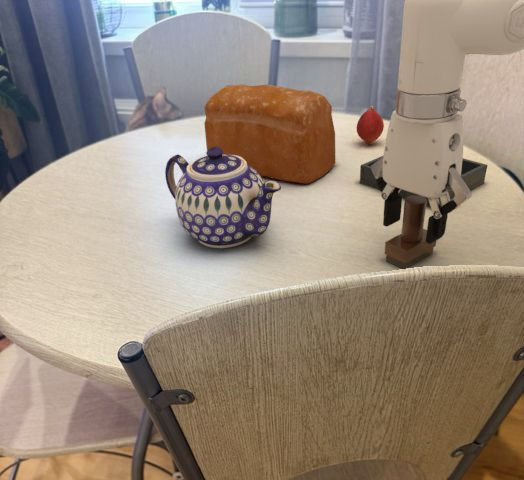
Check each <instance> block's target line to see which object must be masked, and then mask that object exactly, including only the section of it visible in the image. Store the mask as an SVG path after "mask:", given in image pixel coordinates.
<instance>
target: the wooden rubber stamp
mask: <svg viewBox="0 0 524 480" xmlns="http://www.w3.org/2000/svg"><path fill="white" fill-rule="evenodd" d="M426 203H427V199H426V198H425V197H423V196H417V195H414V196H409V197H407V198H404V205H403V216H402V225H401V233H399V234H398V235H396V236H394V237H392V238H390V239H388V240H386V241H385V243H384V255H386V256H385V262H388V263H390V264H392V265H394V266H396V267H399V268H401V269H403V270H406V269H408V268H409V267H411V266H413V265H415V264H416V263H418V262H419V261H422V260H424V259H425V258H426V257H429V256H430V255H432V254H433V252H434V248H435V247H436V246H437V240H436V241H435V242H433V243H431V244H429V243H427V242H426V234H427V229H425V228H424V225H425V218H426V210H427V206H426ZM405 268H406V269H405Z"/></svg>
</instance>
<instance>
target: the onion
mask: <svg viewBox="0 0 524 480" xmlns="http://www.w3.org/2000/svg"><path fill="white" fill-rule="evenodd" d="M384 128H385V123H384V119H383V117H382V116H381V114H379V112H377V111H376V110H375V106H373V105H371V106H370V107H369V108H368V109H367V110H366V111H365V112H363V113H362V114H361V115H360V117H359V119H358V121H357V123H356V133H357V136H358V137H359V138H360V139H361V140H362V141H363V142H365V143H366V144H367V145H372V144H373V143H374V142H375V141H376V140H378V139H379V138H380V137H381V136H382V133H383V131H384Z"/></svg>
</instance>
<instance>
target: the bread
mask: <svg viewBox="0 0 524 480" xmlns="http://www.w3.org/2000/svg"><path fill="white" fill-rule="evenodd" d="M332 111H333V106H332V105H331V104H330V102H329V101H328V99H327V98H326V96H325V95H323V94H321V93H319V92H315V91H311V90H299V89H294V88H288V87H285V86H278V85H272V84H259V85H249V84H242V83H241V84H240V83H238V84H231V85H230V84H229V85H226V86H224V87H222V88H220V90H218V91H217V92H215V93H214V94H213V95H211V96H210V97H209V98H208V100H207V102H206V103H205V105H204V114H205V120H204V132H205V133H204V135H205V143H206V145H205V146H206V152H207V151H208V149H210V148H212V147H220V148H221V149H222V150H223V154H227V155H236V156H240V157H242V158H243V159H244V160H245V161H246V162H247V165H248V166H250V167H251V168H253V169H254V170H256V172H257V173H258V174H259V175H260V176H261V177H266V178H269V179H274V180H279V181H282V182H283V181H284V182H291V183H299V184H310V183H313V182H314V181H316V180H318V179H320V178H322V177H323V176H324V175H326V174H327V173H328V172H329V171H330V170H331V169H332V168H333V167H334V166H335V164H336V129H335V124H334V121H333V115H332V114H333V112H332Z"/></svg>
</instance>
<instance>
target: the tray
mask: <svg viewBox="0 0 524 480" xmlns="http://www.w3.org/2000/svg"><path fill="white" fill-rule="evenodd" d="M382 157H384V154H383V155H381V156H379V157H376V158H374V159H371V160H369V161H367V162H365V163H363V164H360V168H359V169H360V170H359V171H360V172H359V183H360V184H363V185H366V186H368V187H371V188H373V189H376V190H380V188H379V187H378V185H377V183H376V180H377V179H376V178H375V176H374V174H373V172H372V170H371V166H372V165H373V164H374V163H375V162H377V161H378V160H380V159H381V158H382ZM487 171H488V164H485V163H482V162H478V161H474V160H471V159H467V158H464V157H463V159H462V170H461V178H462V179H463V181H464V182H465V184H466V185H467V186H468V188H469V189H470V191H472V190H474V189H476V188H477V187H480V186H482V185H483V184H485V179H486V175H487ZM380 191H381V190H380ZM448 193H449V196H450V200H452V199H453V198H454V197H455V193H454V191H453V190H448ZM399 194H400V195H402V199H405V198H407V197H409V196H414V195H417V194H414V193H411V192H408V191H405V190H402V189H401V191H400V192H399ZM417 196H420V195H417ZM425 198H426V199H427V203H426V207H428V208H431V206H430V203H429V199H428V198H427V197H425ZM439 202H440V205H441V206H442V204H441V201H440V198H439Z"/></svg>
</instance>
